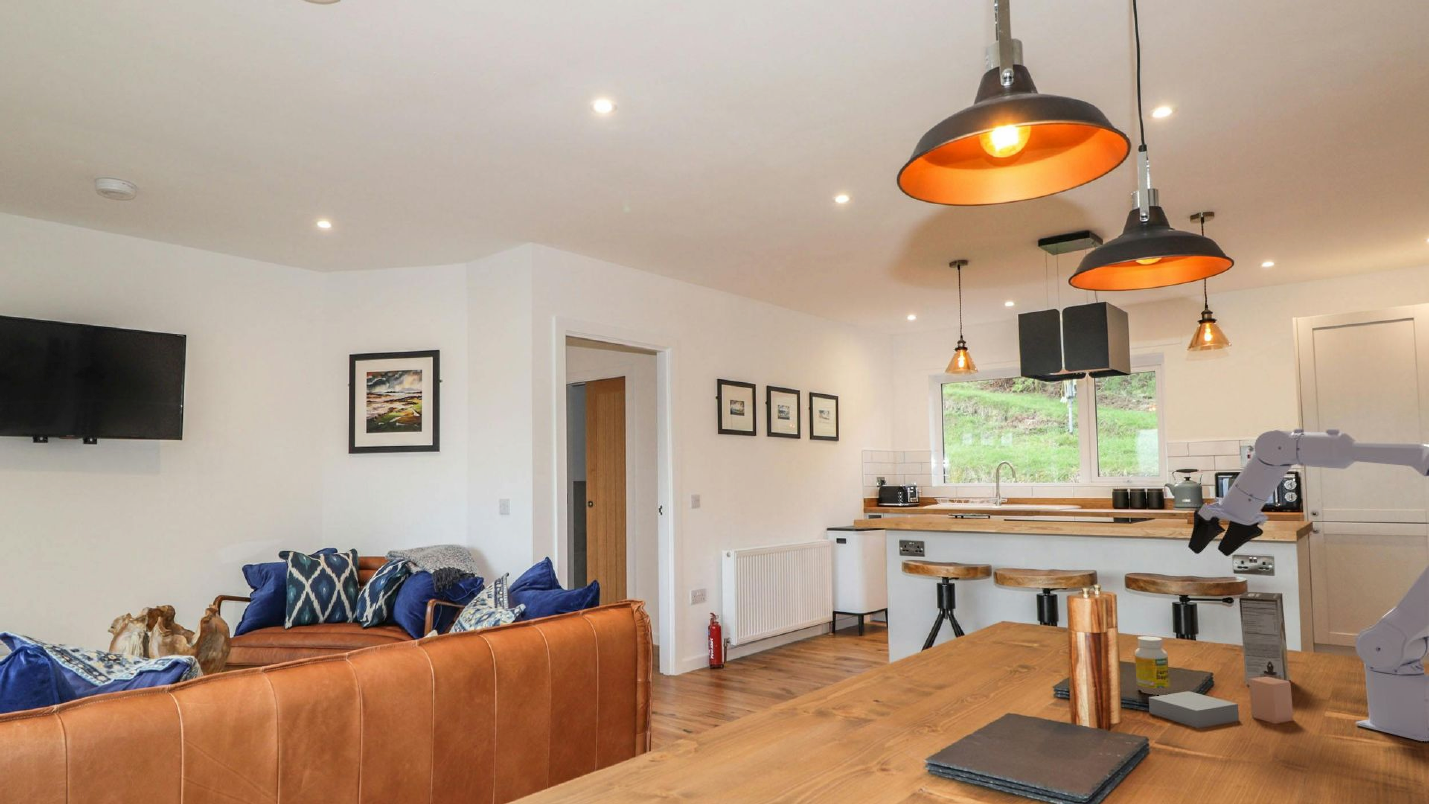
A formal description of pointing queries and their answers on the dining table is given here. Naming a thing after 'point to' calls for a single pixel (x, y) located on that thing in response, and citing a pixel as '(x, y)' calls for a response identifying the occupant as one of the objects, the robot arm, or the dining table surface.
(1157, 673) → the supplement bottle
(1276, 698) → the terracotta block
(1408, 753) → the dining table surface
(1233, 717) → the slate block
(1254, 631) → the coffee box
